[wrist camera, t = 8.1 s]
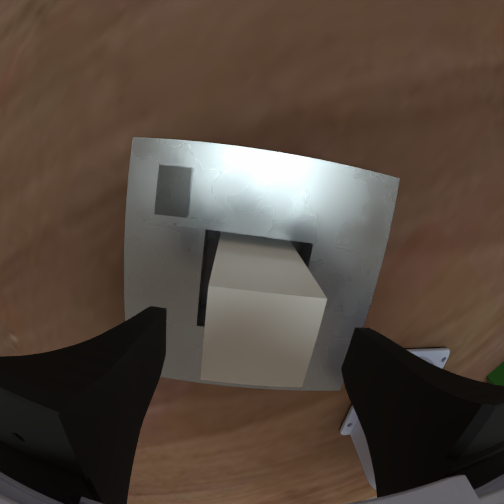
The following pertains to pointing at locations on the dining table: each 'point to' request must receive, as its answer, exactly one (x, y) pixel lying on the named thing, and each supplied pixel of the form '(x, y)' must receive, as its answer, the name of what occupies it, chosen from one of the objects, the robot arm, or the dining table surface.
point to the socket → (256, 224)
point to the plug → (260, 313)
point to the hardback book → (497, 376)
